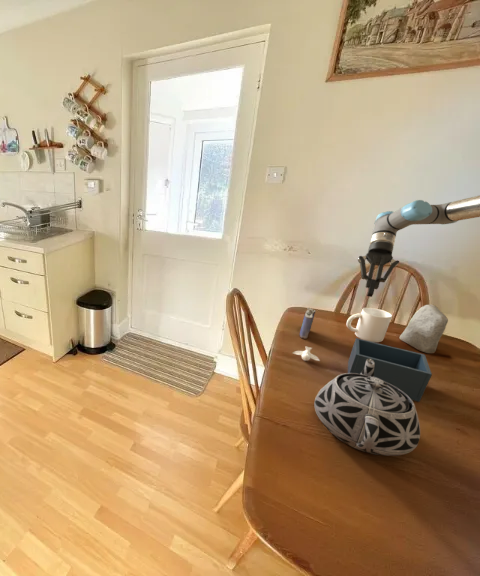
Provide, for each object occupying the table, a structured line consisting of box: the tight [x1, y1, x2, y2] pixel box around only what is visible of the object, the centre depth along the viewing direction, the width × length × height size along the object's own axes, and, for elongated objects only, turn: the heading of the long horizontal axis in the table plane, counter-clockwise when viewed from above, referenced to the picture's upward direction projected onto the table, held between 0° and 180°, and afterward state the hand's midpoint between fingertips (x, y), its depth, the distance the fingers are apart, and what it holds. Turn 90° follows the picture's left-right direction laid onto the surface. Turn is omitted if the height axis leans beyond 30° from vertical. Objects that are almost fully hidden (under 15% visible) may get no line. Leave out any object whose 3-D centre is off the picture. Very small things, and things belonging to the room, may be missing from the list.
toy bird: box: [292, 345, 321, 362], centre depth 103 cm, size 8×5×5 cm, turn 51°
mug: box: [346, 307, 393, 343], centre depth 115 cm, size 12×8×10 cm
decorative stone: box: [398, 303, 449, 354], centre depth 107 cm, size 11×6×15 cm, turn 171°
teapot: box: [313, 359, 421, 457], centre depth 73 cm, size 19×31×15 cm, turn 142°
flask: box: [299, 307, 316, 340], centre depth 117 cm, size 9×3×11 cm, turn 140°
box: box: [347, 337, 433, 403], centre depth 91 cm, size 16×12×9 cm
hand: (370, 294), depth 124 cm, fingers closed
